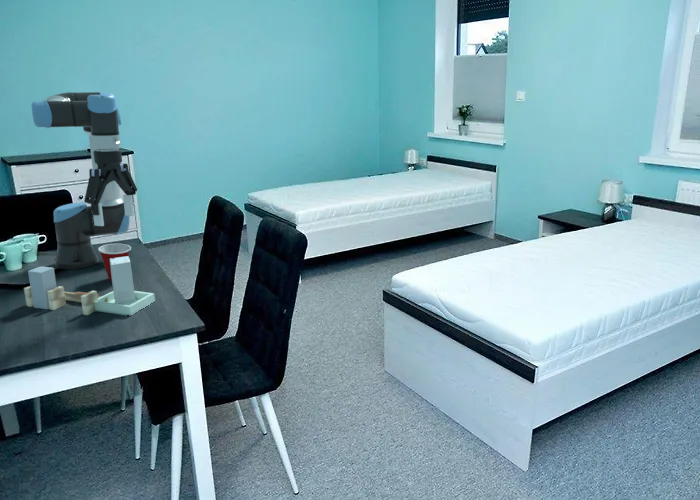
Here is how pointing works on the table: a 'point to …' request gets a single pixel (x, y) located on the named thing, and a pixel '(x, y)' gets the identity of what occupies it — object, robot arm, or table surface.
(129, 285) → the skincare box
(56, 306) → the beige elongated piece
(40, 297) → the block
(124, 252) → the plastic cup
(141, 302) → the tray
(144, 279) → the table surface
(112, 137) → the robot arm
